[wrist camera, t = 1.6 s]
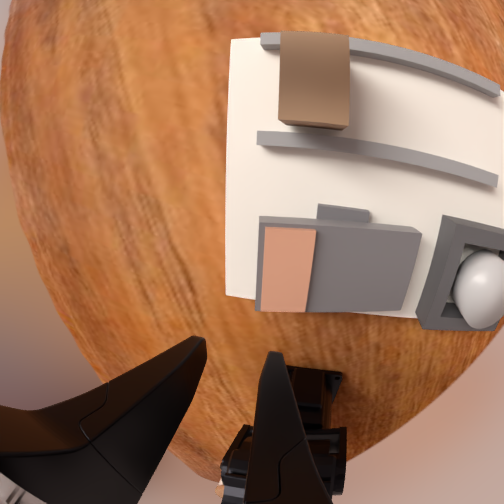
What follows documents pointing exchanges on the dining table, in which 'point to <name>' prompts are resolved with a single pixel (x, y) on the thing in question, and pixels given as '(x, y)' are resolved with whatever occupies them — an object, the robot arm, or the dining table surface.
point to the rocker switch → (333, 265)
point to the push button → (480, 289)
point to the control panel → (371, 164)
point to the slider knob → (314, 80)
